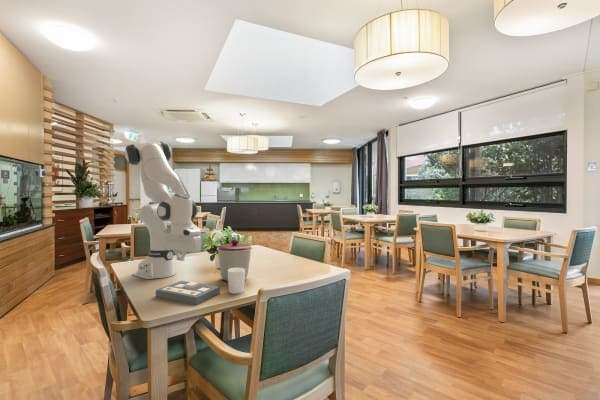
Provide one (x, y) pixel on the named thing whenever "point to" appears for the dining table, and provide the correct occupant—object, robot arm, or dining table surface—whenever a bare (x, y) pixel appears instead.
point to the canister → (233, 257)
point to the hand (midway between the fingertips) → (180, 260)
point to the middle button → (191, 285)
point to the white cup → (236, 280)
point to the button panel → (187, 293)
